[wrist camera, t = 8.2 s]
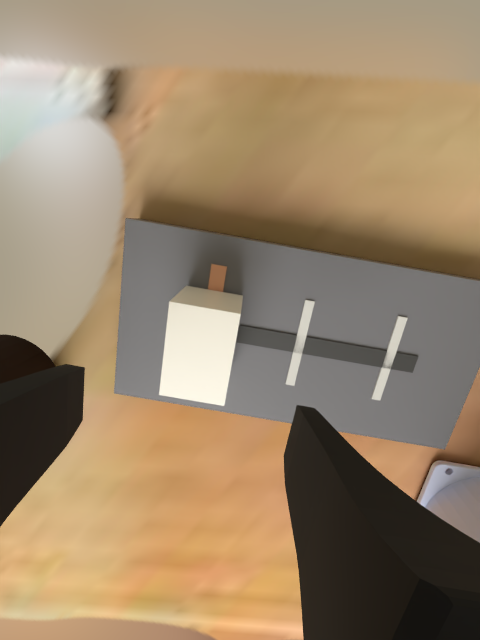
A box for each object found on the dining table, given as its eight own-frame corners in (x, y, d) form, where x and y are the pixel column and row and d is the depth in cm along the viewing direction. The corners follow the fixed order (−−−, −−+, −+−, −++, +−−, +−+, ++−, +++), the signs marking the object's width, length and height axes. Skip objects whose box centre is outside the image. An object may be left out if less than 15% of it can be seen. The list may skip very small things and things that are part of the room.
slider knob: (243, 295, 17) (240, 313, 13) (229, 371, 18) (224, 405, 15) (186, 285, 17) (169, 301, 13) (176, 362, 18) (158, 394, 15)
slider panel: (486, 280, 19) (514, 287, 17) (427, 429, 21) (446, 450, 19) (138, 218, 18) (124, 218, 16) (126, 377, 21) (113, 394, 19)
